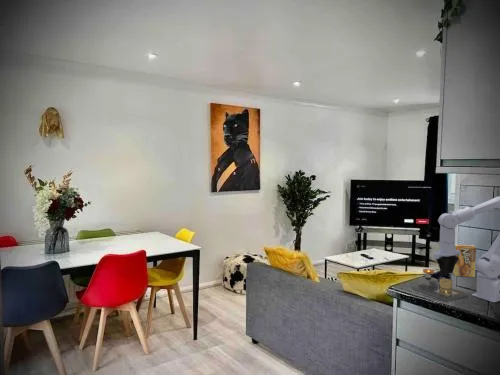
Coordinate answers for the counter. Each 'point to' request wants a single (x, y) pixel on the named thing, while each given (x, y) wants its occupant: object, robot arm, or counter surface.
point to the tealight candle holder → (428, 273)
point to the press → (436, 289)
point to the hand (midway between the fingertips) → (446, 273)
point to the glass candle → (445, 286)
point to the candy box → (465, 261)
